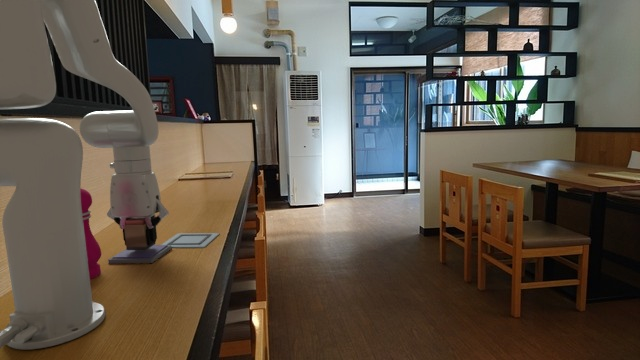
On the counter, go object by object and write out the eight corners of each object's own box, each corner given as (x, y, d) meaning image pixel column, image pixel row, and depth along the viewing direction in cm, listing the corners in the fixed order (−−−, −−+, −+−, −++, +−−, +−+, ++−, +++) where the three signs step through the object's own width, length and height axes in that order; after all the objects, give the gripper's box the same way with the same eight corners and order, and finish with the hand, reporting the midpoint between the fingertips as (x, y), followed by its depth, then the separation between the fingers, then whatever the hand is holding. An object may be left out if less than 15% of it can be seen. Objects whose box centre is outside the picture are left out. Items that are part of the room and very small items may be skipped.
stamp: (145, 250, 87) (143, 220, 86) (126, 250, 88) (123, 220, 87) (155, 243, 92) (152, 215, 91) (137, 243, 92) (134, 216, 91)
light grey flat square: (204, 247, 95) (204, 245, 95) (157, 247, 96) (157, 246, 96) (219, 234, 107) (219, 232, 107) (178, 234, 108) (177, 232, 107)
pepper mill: (84, 284, 74) (72, 183, 71) (53, 281, 76) (40, 183, 73) (111, 270, 81) (101, 178, 78) (82, 268, 83) (72, 178, 80)
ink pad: (151, 263, 85) (151, 258, 84) (108, 263, 85) (108, 258, 85) (171, 249, 94) (171, 244, 94) (132, 249, 95) (132, 244, 95)
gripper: (87, 170, 84) (96, 249, 86) (161, 168, 83) (168, 248, 85) (107, 166, 91) (115, 239, 94) (176, 165, 90) (182, 238, 93)
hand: (140, 242), depth 90 cm, fingers closed on stamp, 4 cm apart
